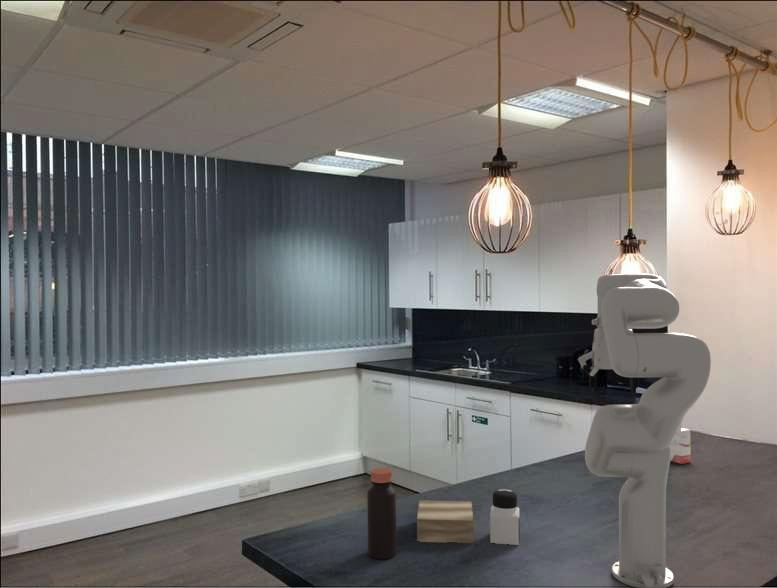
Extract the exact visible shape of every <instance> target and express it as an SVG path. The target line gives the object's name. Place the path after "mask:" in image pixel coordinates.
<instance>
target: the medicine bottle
mask: <svg viewBox="0 0 777 588" xmlns="http://www.w3.org/2000/svg"><path fill="white" fill-rule="evenodd" d="M520 523H521V521H520V507H519V506H518V494H517V493H516V492H515V491H512V490H510V489H498V490H495V491H494V492H493V493H492V505H491V507H490V513H489V539H490V540H489V543H490V544H492V543H495V544H494V545H507V544H509V545H510V546H511V545H512V546H519V545H520V540H521V539H520V537H521V535H520V533H521V532H520V528H521V527H520Z"/></svg>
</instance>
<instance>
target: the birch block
mask: <svg viewBox="0 0 777 588" xmlns="http://www.w3.org/2000/svg"><path fill="white" fill-rule="evenodd" d="M416 516H417V517H416V542H417V541H420V542H419V543H447V542H458V543H457V544H459V543H460V544H475V542H474V537H475V536H474V514H473V503H472V501H469V500H468V501H467V500H427V499H426V500H425V499H424V500H422V499H421V500H419V503H418V508H417V515H416ZM461 542H462V543H461Z"/></svg>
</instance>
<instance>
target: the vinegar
mask: <svg viewBox="0 0 777 588" xmlns="http://www.w3.org/2000/svg"><path fill="white" fill-rule="evenodd" d="M370 481H371V484H372V486H371V487H370V488H369V489H368V490H367V493H366V494H367V496H366V497H367V498H366V499H367V500H366V501H367V554H368V556H370V557H371V558H372V559H375V560H388V559H391V558H394V556H396V554H397V513H396V512H397V498H396V497H397V496H396V495H397V494H396V493H397V492H396V489H394V488H393V487H392V485H391V484H392V470H391V469H390V468H381V467H379V468H374V469H371V471H370Z"/></svg>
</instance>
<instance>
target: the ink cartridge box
mask: <svg viewBox="0 0 777 588" xmlns="http://www.w3.org/2000/svg"><path fill="white" fill-rule="evenodd" d="M691 446H692V445H691V429H688V428H685V427H684V428H683V427H682V424H681V425H680V427H679V429H678V431H677V433H676V435H675V437H674V439H673V441H672V442H671V444H670V445H669V447H670V453H671V458H670V462H673V463H677V464H679V465H683V464H690V463H691V460H692V459H691V458H692V457H691V455H692V454H691V453H692V452H691V450H692V449H691Z"/></svg>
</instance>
